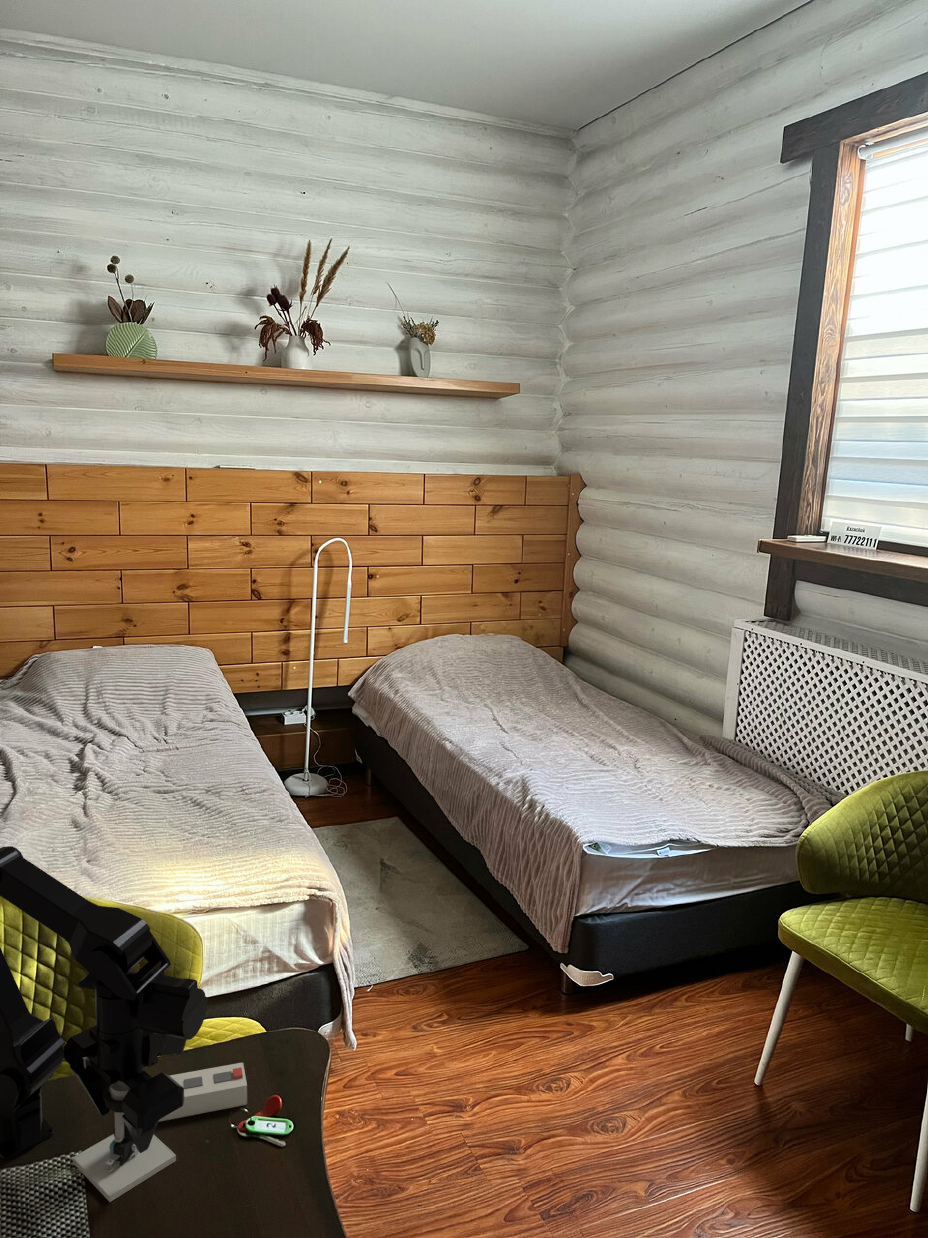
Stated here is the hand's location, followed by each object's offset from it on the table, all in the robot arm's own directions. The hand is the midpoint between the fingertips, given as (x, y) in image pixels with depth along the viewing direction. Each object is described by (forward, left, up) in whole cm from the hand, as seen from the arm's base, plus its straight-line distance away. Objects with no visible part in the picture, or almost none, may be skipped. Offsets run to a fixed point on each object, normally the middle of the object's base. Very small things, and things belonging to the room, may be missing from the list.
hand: (123, 1132), depth 116 cm
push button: (0, 0, -4) cm, 4 cm away
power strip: (-3, +12, -4) cm, 13 cm away
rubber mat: (0, 0, -4) cm, 4 cm away
